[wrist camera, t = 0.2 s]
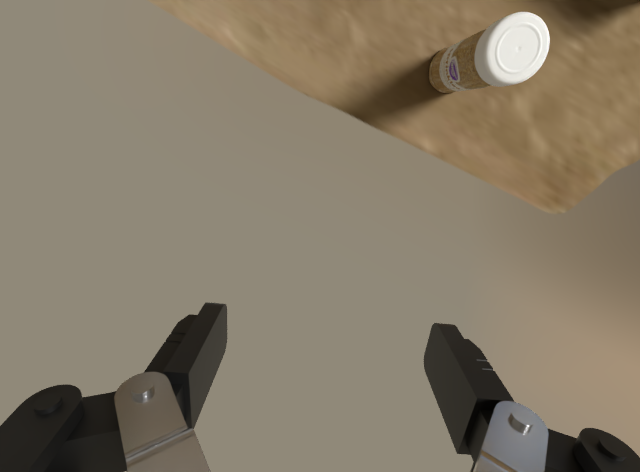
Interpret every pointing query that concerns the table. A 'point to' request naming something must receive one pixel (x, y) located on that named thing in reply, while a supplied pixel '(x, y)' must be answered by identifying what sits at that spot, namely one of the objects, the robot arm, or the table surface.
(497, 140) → the table surface
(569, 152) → the table surface
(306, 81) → the table surface
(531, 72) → the sprinkles bottle
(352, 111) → the table surface
